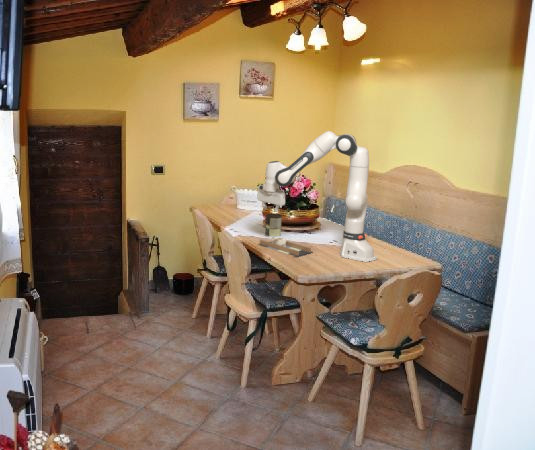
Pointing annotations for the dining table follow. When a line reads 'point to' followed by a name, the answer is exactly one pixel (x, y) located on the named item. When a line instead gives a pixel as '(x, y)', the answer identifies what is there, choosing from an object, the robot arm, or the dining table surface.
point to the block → (279, 241)
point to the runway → (288, 248)
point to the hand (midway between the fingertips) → (270, 210)
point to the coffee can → (273, 224)
